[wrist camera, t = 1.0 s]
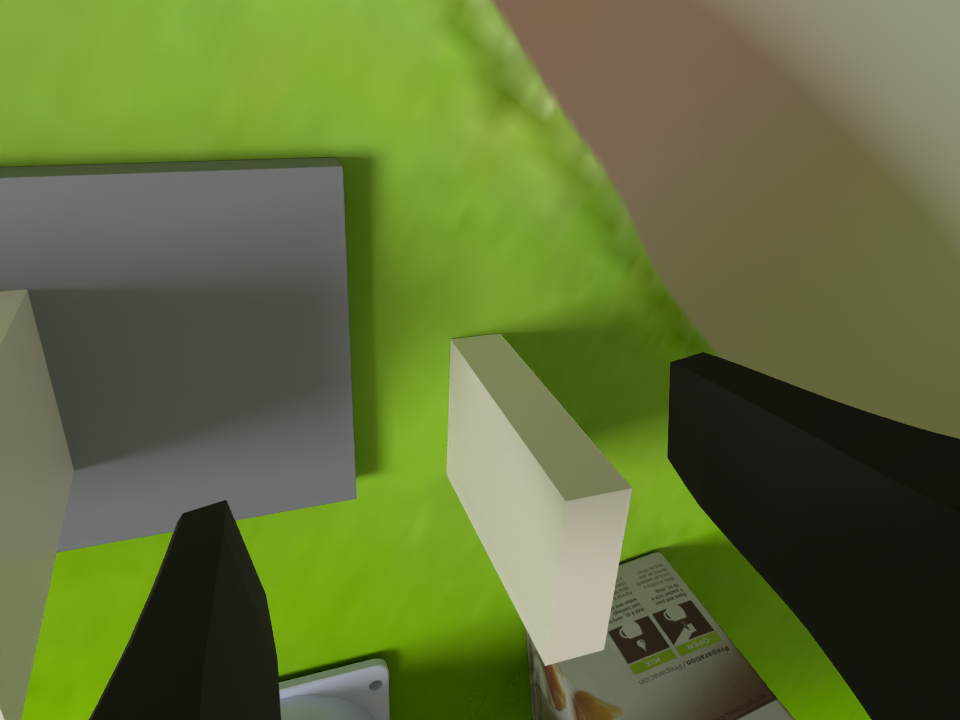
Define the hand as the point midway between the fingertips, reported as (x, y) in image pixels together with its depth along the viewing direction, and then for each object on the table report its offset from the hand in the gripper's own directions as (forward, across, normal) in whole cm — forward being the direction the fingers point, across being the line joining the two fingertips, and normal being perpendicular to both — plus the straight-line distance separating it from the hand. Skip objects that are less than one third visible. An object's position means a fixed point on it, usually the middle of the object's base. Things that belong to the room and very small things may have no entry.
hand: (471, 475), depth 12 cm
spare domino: (+10, -3, +6) cm, 12 cm away
